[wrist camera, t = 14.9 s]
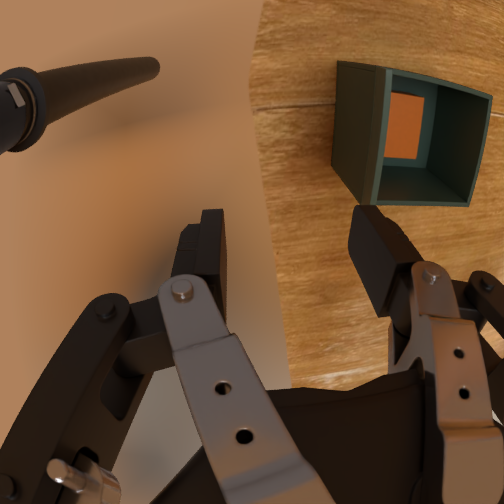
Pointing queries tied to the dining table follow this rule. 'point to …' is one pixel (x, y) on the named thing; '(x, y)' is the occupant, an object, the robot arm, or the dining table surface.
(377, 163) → the flap
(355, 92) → the dark green box
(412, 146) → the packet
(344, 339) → the dining table surface
